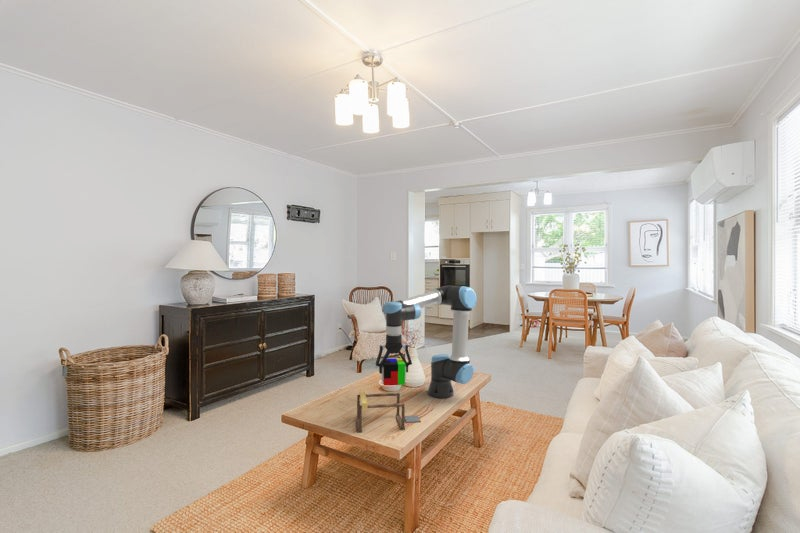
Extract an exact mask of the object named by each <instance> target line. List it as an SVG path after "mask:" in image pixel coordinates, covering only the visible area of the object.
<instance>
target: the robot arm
mask: <svg viewBox="0 0 800 533" xmlns="http://www.w3.org/2000/svg"><path fill="white" fill-rule="evenodd" d="M477 300H478V299H477V294H476V291H474V289H473V288H472V287H469V286H461V285H453V284H452V285H451V284H450V285H444V286H440V287H437V288H433V289H431V290H430V291H429V292H426V293H422V294H417V295H414V296H411V297H407V298H404V299H399V300H396V301H385V302H384V304H383V306H382V311H383V314H384V315H385V320H386V321H385V323H386V324H385V334H386V335H385V345H382V344H380V345H379V351H378V355H377V358H376V361H375V366H376V367H378V369H379V370H378V373H379V374H381V375H380V376H381V382H383V381H384V367H383V364H384V362H385V361H386V359H388V358H389V356H390V355H394V354H395V355H396V354H398V355H399V356H400V358H402V360H403V361H404V362H405V381H406V380H407V373H409V366H411V365H412V364H413V362H412V359H411V356H410V353H409V345H408V344H407V343H405V344H402V343H403V342H402V339H403V338H402V330H403V329H402V328H403V327H402V323H403V322H404V321H411V320H412V321H415V320H417V319H419V318H420V317H421V316H422V309H423V308H428V307H430V306H431V307H432V306H441V305H444V306H450V311H452V313H453V318H452V339H451V340H452V345H451V354H449V353H444V354H443V353H441V354H435V355H433V356H432V357H431V363H430V365H431V366H430V369H431V370H430V373H431V374H430V382H429V385H428V388H427V394H428V395H429V396H430V397H433V398H436V399H437V398H438V399H448V398H452V397H453V396H454V394H455V393H454V392H455V391H454V387H453V384H452V382H455V383H456V384H461V385H465V384H468V383H469V382H471V380H472V379H473V376H474V373H475V369H474V368H475V367H474V366H473V365H472V364H471V358H470V357H469V356H468V346H469V344H468V343H469V321H470V320H469V317H470V316H469V315H470V313H471V312H472V309H473V308H475V306H476V304H477V302H478V301H477ZM385 349H386V352H385V353H384V354H383V351H384V350H385ZM402 349H403V350H404V352H405V355H406V358H407V360H406V358H405V357H404V355H403V354H402V352H401V350H402ZM382 354H383V357H382ZM381 358H382V359H381Z"/></svg>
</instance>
